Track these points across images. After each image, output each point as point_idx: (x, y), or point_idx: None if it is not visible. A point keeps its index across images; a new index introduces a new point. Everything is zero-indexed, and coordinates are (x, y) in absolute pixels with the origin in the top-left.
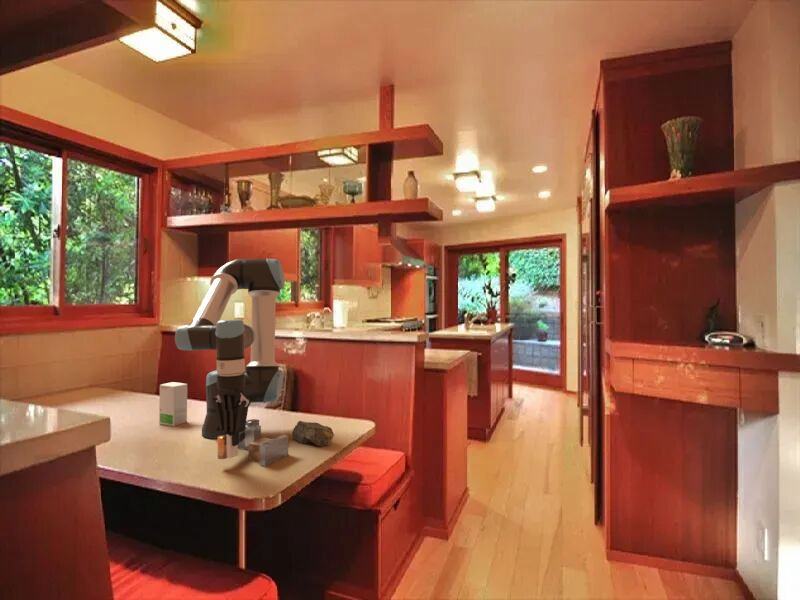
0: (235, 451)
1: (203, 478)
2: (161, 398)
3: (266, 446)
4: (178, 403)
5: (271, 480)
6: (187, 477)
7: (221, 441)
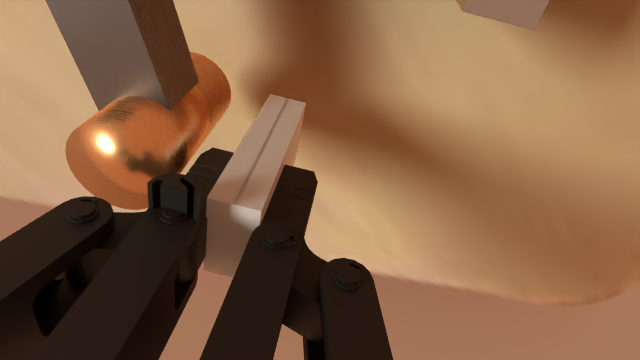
0: (296, 139)
1: None
2: None
3: (543, 2)
4: None
5: (599, 174)
6: None
7: None
